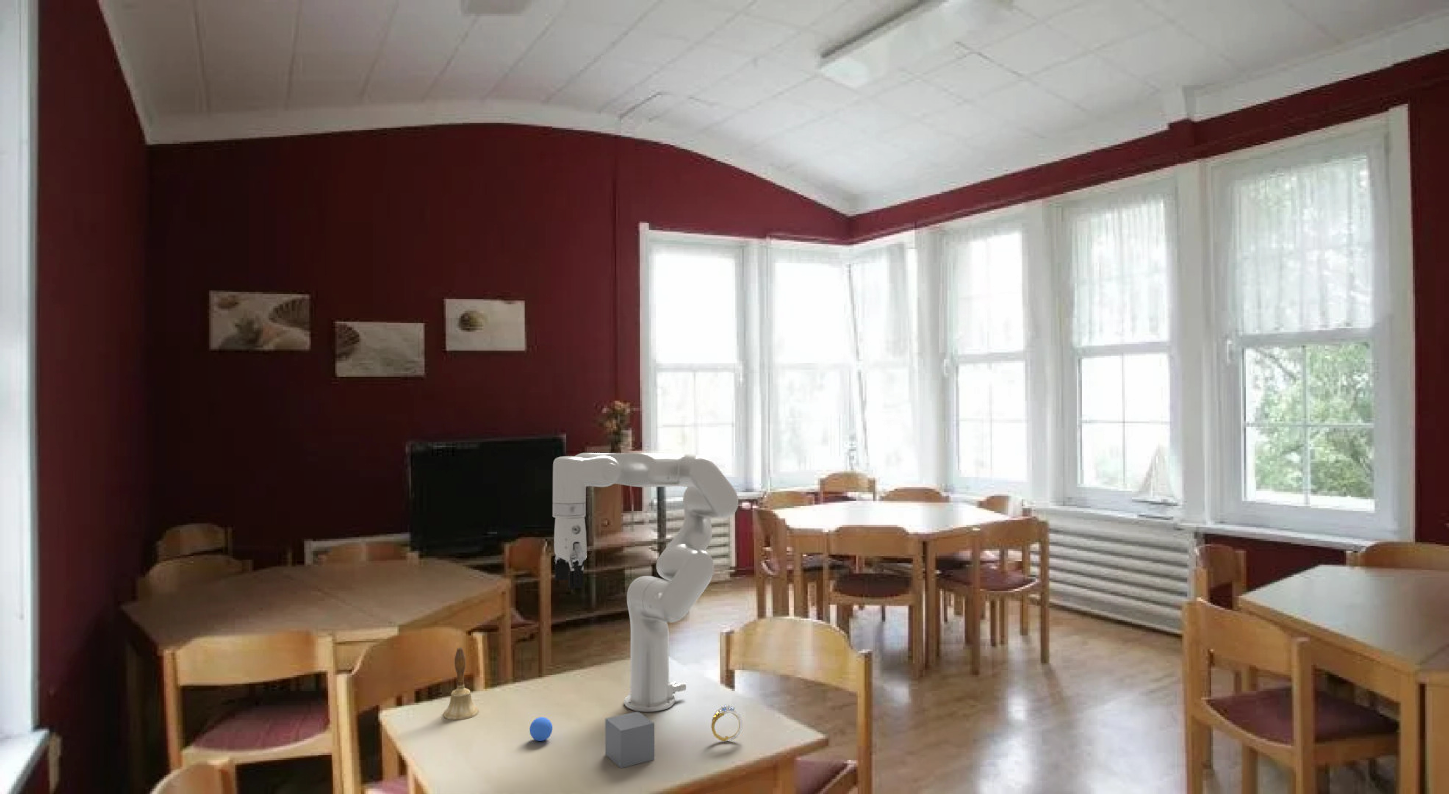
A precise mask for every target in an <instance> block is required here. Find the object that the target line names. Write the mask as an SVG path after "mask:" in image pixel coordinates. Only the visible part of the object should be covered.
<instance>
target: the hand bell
mask: <svg viewBox="0 0 1449 794" xmlns="http://www.w3.org/2000/svg"><path fill="white" fill-rule="evenodd" d="M466 660H467V659H466V655H465V652H464V648H463V647H458V648H457V647H456V652H455V655H454V668H455V672H456V686H457V687H456V689H454V690H452V691H451V693H450V700H449V704H448V706H447V708H446V709H445V710H444V711H443V713H442V716H443V718H444V719H447V720H450V721H452V720H453V721H462V720H468V719H471V718H474V717H475V716H477V715H478V713H479V709H478V706H476V705H475V703H474V702H473V699H472V695H471V690H470V689H468V688H466V687H465V673H464V672H465V669H466V664H467V661H466Z"/></svg>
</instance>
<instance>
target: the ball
mask: <svg viewBox="0 0 1449 794" xmlns="http://www.w3.org/2000/svg"><path fill="white" fill-rule="evenodd" d="M529 733H530V734H529V735H530V736H531V738H532V739H534V740H535V741H538V742H543V741H547V739H549V737H551V735H552V733H553V724H552V722H551V720H550V719H548V718H547V717H543V716H540V717H536V718H535V719H534V720H533V721H532V722H531V724H530V726H529Z"/></svg>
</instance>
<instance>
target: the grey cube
mask: <svg viewBox="0 0 1449 794" xmlns="http://www.w3.org/2000/svg"><path fill="white" fill-rule="evenodd" d="M604 722H605V725H604V727H605V728H604V729H605V731H604V732H605V733H604V734H605V740H604V741H605V742H604V743H605V747H604V751H605V753H604V754H605V756H606V757H607V758H608V759H610V760H611V761H612V762H613V763H614V764H615V765H616V766H617V767H619V768H620V769H623V768H626V767H630V766H631V767H632V766H634V765H635V766H636V765H639V764H643V763H646V762H651V761H655V722H654V721H652V719H651V720H650V718H648V717H647V716H645V715H643V713H641V711H635V712H634V711H633V712H629V713H625V714H624V713H623V714H620V715H615V716H610V717H607V718H605V721H604Z"/></svg>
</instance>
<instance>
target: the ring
mask: <svg viewBox="0 0 1449 794" xmlns="http://www.w3.org/2000/svg"><path fill="white" fill-rule="evenodd" d="M735 709H736V706H733V705H730V704H728V705H727V704H724V706H720V708H718V709H717V710H716V711H714V712H715V713H714V714H713V716H712V719H711V722H710V723H711V724H710V726H711V727H710V728H711V732H712V734H713V736H714V737H715V738H716V739H717V740H719V741H722V742H725V741H729V742H731V741H733V740H735V739H737V738H738V737H739V736H740V735H741V733H742V729H743V719H742V716H741V715H740V713H739V712H738V711H736V710H735ZM726 714H727V715H728V714H732V715H733V716H735V717H736V718H737V720H738V723H739V724H738V729H737V731H736V732H735V734H733V735H731V736H728V735H727V736H725V737H724V736H721V735H720V734H718V733H717V730H716V729H715V725H716V723H717V721H718V720H719V719H721V717H723V716H725V715H726Z"/></svg>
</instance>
